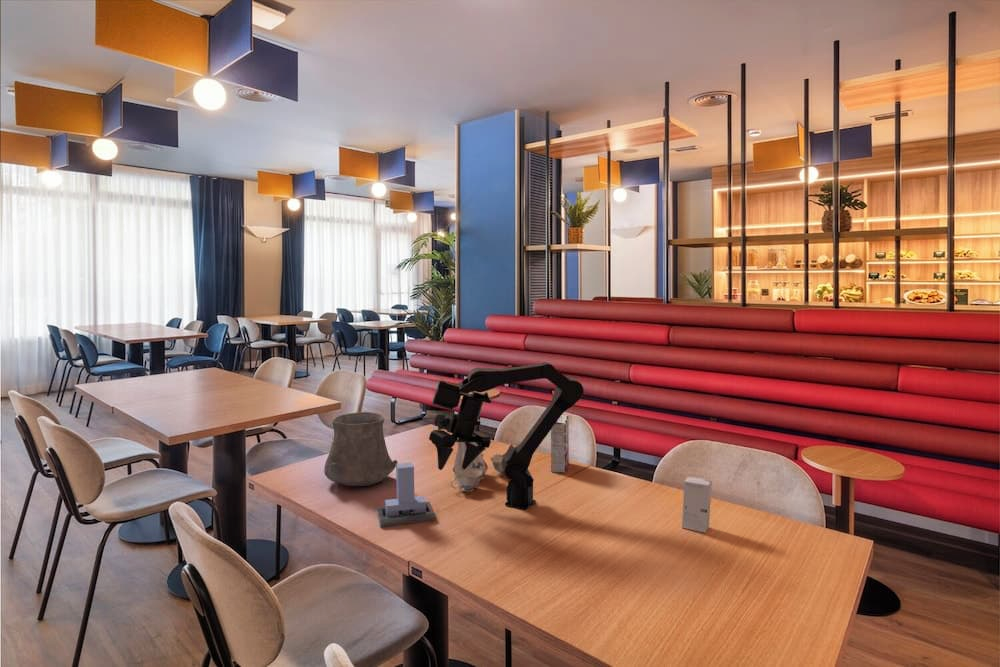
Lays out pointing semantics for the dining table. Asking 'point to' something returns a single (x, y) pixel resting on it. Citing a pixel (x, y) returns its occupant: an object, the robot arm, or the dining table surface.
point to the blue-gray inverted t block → (405, 492)
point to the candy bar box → (560, 445)
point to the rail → (405, 516)
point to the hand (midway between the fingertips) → (452, 469)
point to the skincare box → (696, 504)
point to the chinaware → (473, 469)
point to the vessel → (358, 450)
